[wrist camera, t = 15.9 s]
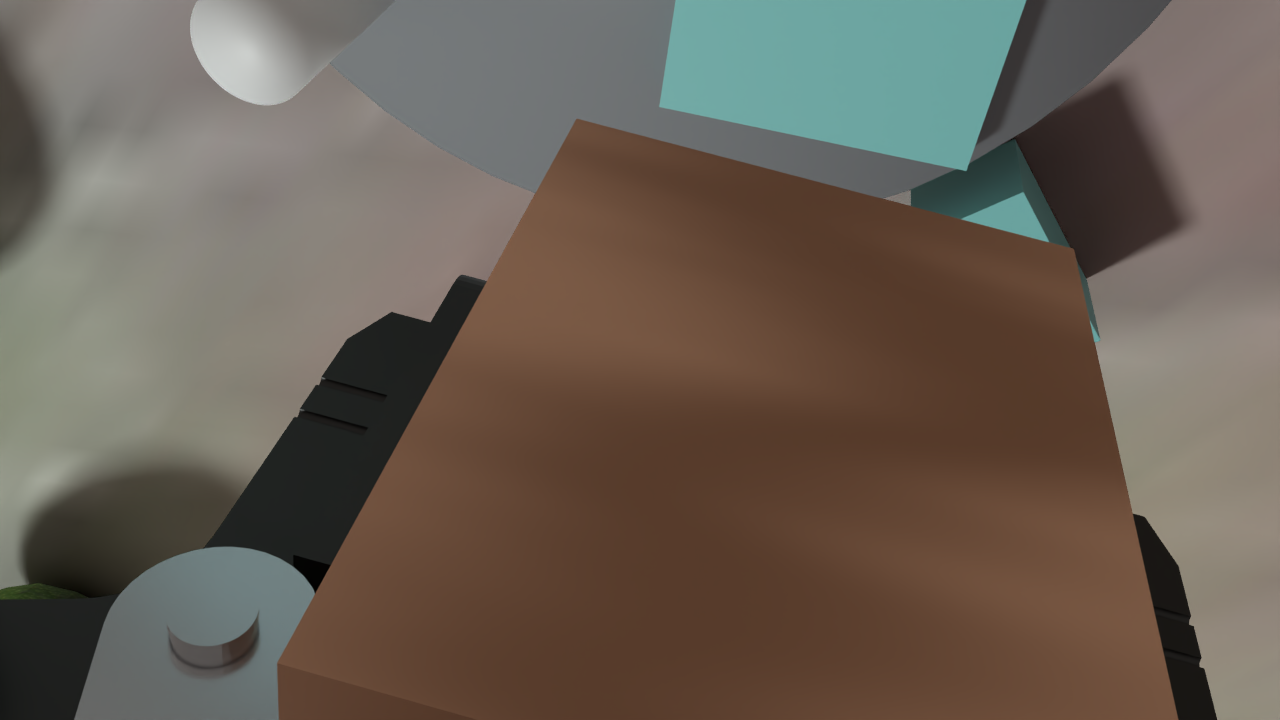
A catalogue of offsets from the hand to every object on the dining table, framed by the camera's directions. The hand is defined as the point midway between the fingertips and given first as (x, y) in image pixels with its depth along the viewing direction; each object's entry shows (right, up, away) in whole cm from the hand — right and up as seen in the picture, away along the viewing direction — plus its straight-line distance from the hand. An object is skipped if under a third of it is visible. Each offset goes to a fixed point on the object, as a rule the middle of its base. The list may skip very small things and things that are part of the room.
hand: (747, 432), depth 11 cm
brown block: (0, +1, +1) cm, 1 cm away
